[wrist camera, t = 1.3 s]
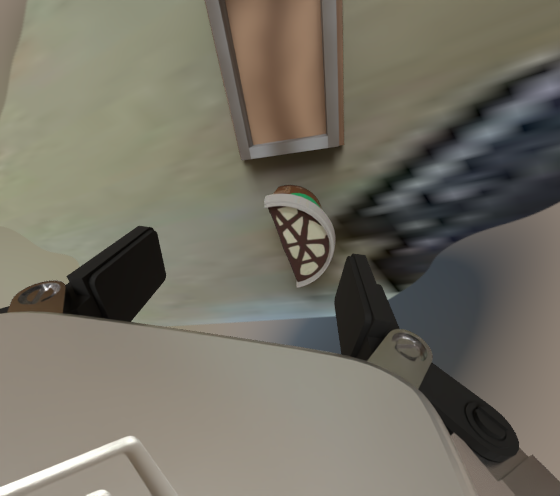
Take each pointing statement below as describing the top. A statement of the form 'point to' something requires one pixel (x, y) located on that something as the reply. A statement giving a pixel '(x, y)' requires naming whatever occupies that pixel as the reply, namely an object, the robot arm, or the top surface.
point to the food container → (302, 231)
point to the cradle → (281, 73)
